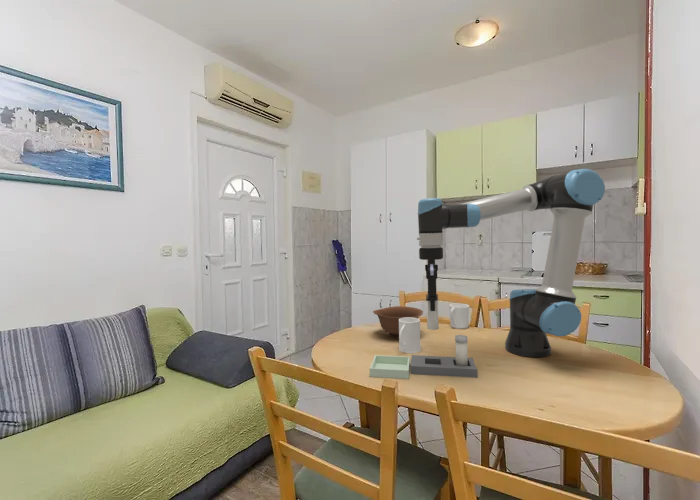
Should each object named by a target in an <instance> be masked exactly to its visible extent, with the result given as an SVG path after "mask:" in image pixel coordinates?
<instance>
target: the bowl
mask: <svg viewBox="0 0 700 500" xmlns="http://www.w3.org/2000/svg"><path fill="white" fill-rule="evenodd" d="M372 312H373V314H374V315H376V316H377V318H378V319H379V320H378V321H379V324H380V327H381V328H382V330H383V331H384V332H386V333H388V335H387V336H389V337H390V338H393V339H399V319H400V318H405V317H413V318H418V319H419V318H420V317H421V316H422V315H424V314H423V313H424V310H422V309H420V308H417V307H413V306H403V305H402V306H399V305H397V306H396V305H395V306H388V307H384V308H383V307H382V308H380V309H375V310H373V311H372Z"/></svg>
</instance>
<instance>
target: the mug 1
mask: <svg viewBox="0 0 700 500" xmlns="http://www.w3.org/2000/svg"><path fill="white" fill-rule="evenodd" d="M398 340H399V341H398V346H399V347H398V350H399V351H400V353H401V352H402V353H406V354H417V353H419V352H421V351H422V345H421V320H420V318H419V317H418V318H413V317H405V318H400V319H399V338H398Z"/></svg>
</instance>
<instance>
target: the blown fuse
mask: <svg viewBox="0 0 700 500" xmlns="http://www.w3.org/2000/svg"><path fill="white" fill-rule="evenodd" d="M436 295H437V321H429V320H428V301H426V299H428V293H427V294H425V301H426V329H427V330H431V331H436V330H439V294H438V293H436Z"/></svg>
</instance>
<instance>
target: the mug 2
mask: <svg viewBox="0 0 700 500" xmlns="http://www.w3.org/2000/svg"><path fill="white" fill-rule="evenodd" d="M448 306H449V308H448V309H449V320H450V328H453V329H456V330H466V329H468V328H469V323H470V322H469V318H470V316H469V315H470V305H469V304H466V303H460V302H459V303H451V304H449V305H448Z"/></svg>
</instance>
